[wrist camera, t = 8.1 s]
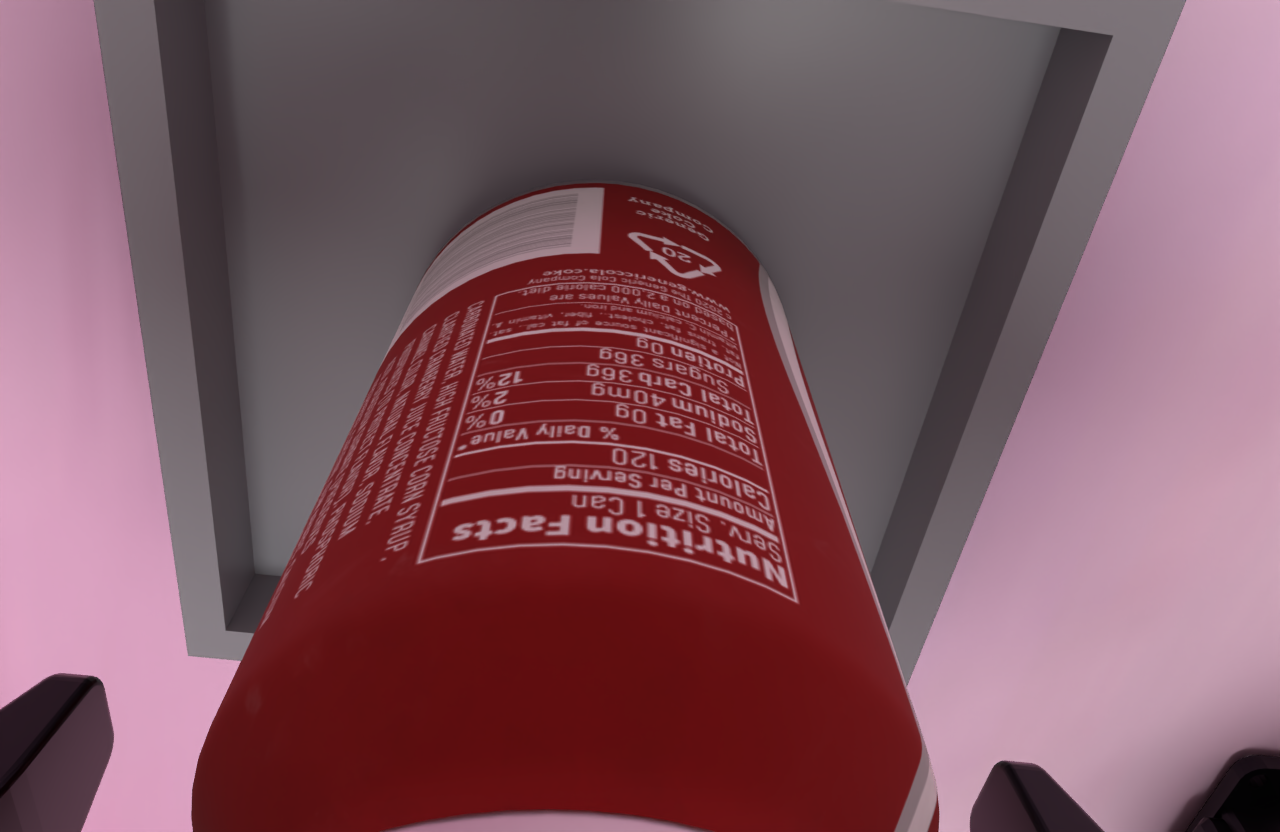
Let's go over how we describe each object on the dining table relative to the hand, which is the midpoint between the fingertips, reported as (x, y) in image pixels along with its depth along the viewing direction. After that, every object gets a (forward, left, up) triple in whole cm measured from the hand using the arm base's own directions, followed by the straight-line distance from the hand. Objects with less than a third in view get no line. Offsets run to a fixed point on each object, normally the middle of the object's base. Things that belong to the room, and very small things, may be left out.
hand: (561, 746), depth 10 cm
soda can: (0, 0, -9) cm, 9 cm away
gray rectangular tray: (0, 0, -10) cm, 10 cm away
